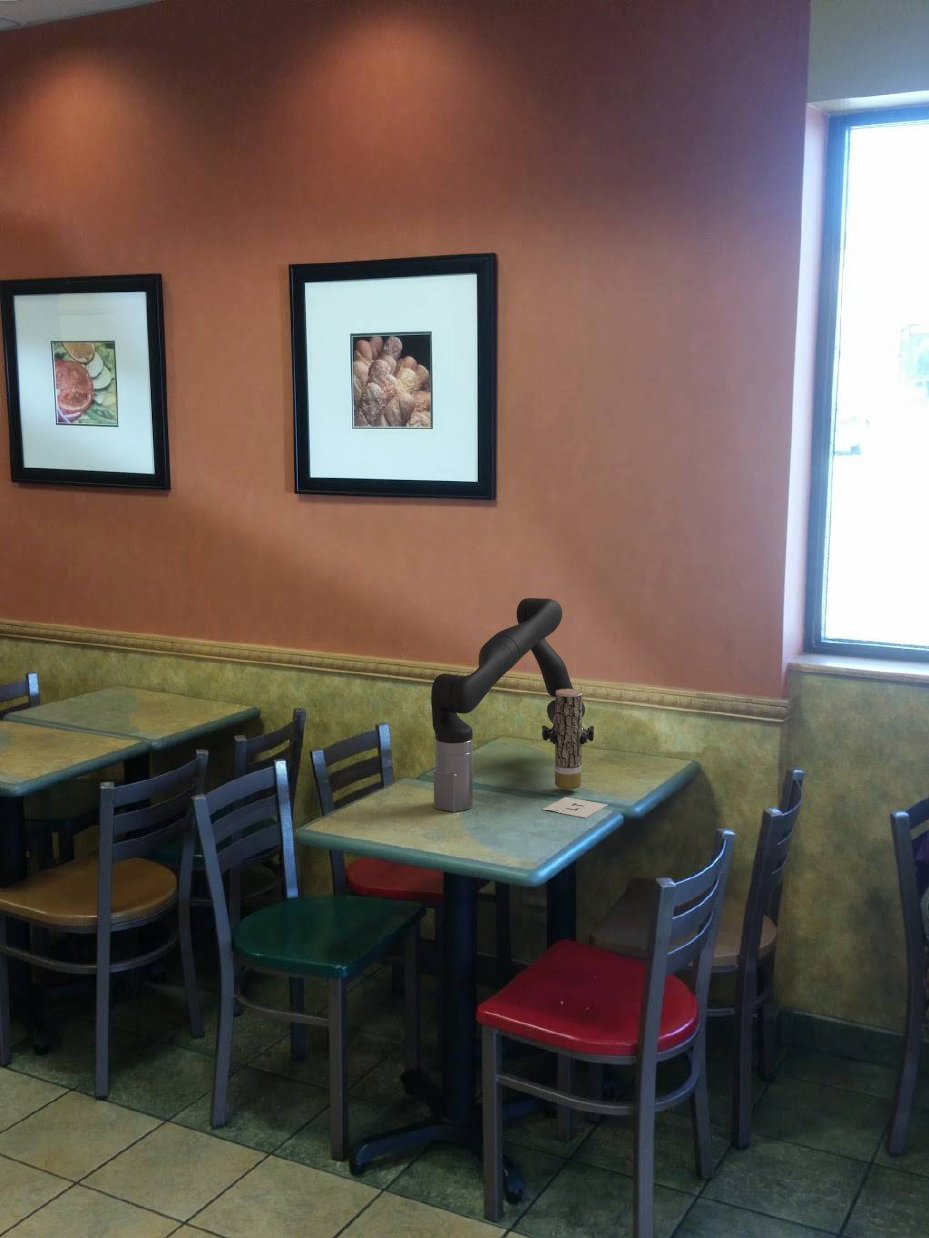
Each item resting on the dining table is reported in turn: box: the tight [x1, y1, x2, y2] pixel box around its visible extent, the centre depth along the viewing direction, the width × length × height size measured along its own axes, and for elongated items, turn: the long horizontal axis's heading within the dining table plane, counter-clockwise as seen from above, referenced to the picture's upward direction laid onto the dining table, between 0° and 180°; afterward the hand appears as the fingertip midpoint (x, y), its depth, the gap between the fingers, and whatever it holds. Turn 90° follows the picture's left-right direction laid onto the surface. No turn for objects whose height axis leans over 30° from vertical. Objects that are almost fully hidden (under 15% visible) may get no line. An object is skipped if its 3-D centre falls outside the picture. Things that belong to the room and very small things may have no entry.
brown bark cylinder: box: [554, 689, 583, 790], centre depth 316 cm, size 7×7×25 cm
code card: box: [541, 796, 609, 819], centre depth 305 cm, size 12×12×1 cm
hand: (568, 740), depth 314 cm, fingers closed on brown bark cylinder, 6 cm apart
